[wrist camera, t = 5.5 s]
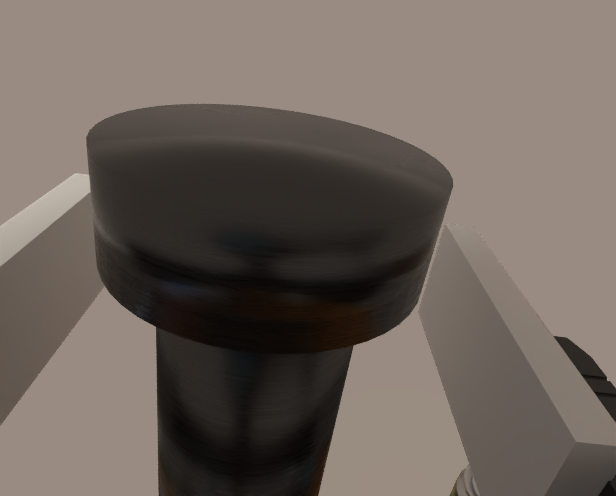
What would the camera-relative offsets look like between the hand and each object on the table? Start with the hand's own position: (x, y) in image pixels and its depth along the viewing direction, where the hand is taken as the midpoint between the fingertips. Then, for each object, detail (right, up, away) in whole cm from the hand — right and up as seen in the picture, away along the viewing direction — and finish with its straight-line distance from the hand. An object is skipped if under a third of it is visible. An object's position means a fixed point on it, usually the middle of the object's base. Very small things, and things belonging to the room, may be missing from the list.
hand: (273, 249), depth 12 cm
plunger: (-3, -23, +7) cm, 24 cm away
